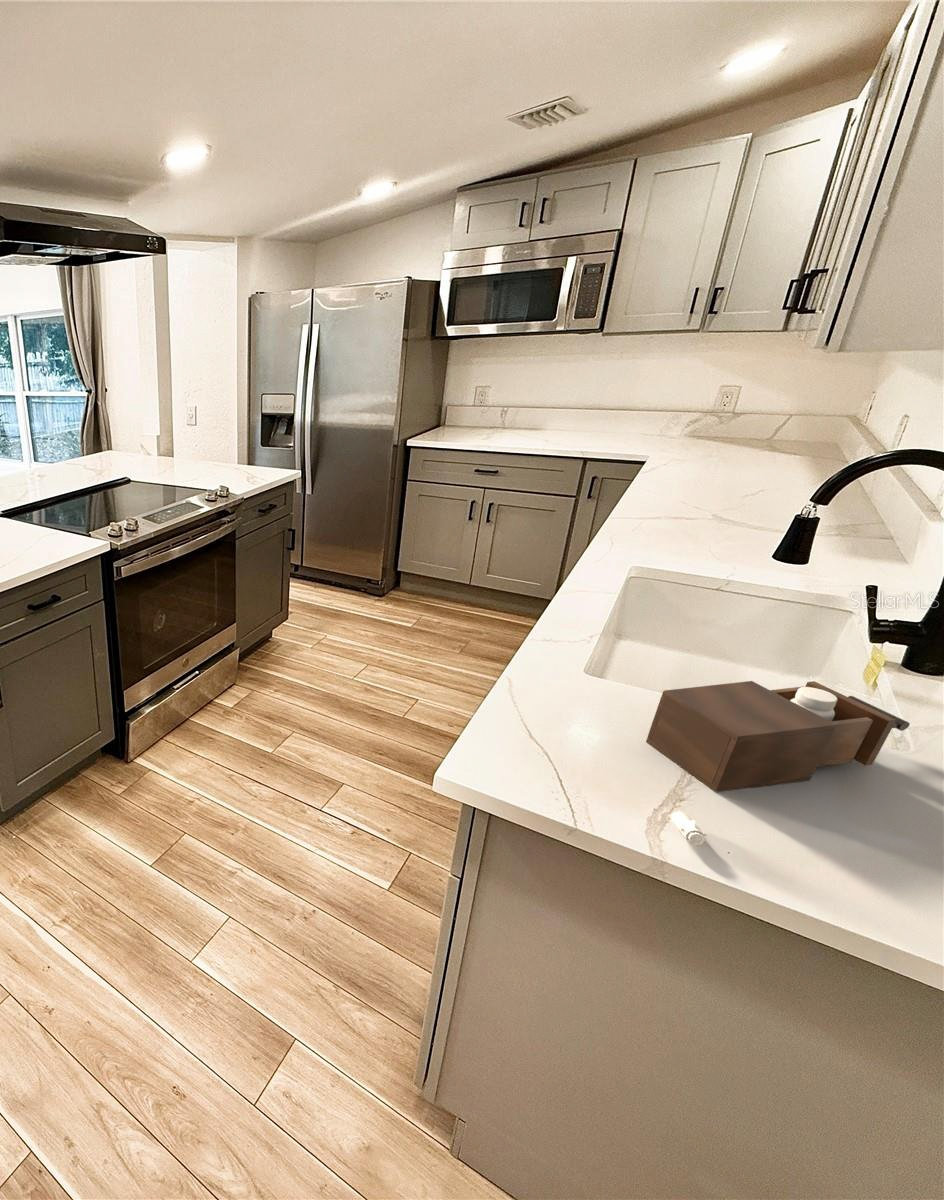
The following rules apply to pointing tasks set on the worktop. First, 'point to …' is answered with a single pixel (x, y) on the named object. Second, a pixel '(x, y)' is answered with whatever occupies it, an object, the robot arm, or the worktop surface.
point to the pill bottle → (816, 701)
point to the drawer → (853, 728)
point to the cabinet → (739, 735)
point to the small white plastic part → (688, 828)
